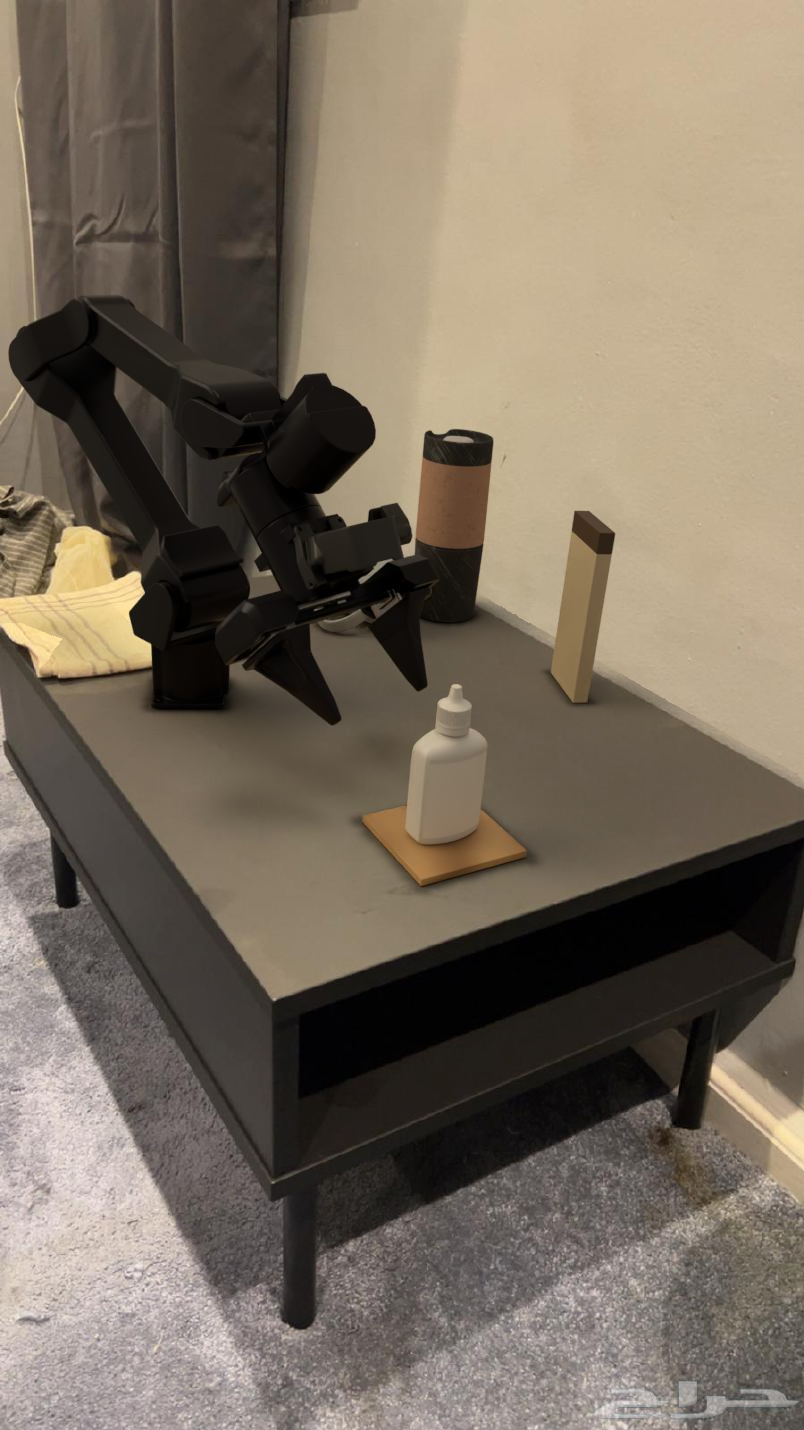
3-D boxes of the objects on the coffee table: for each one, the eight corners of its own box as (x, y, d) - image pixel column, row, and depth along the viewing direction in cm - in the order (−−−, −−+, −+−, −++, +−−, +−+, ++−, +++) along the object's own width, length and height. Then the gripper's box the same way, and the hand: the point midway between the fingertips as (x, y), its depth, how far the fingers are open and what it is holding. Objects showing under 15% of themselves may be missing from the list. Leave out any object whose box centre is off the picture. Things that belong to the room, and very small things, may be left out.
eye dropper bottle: (482, 848, 77) (500, 701, 72) (405, 846, 77) (418, 698, 71) (475, 816, 81) (492, 675, 75) (403, 814, 80) (414, 671, 75)
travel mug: (470, 627, 117) (489, 446, 108) (403, 617, 118) (416, 437, 110) (480, 605, 124) (499, 433, 115) (417, 596, 125) (431, 425, 116)
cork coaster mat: (421, 886, 73) (421, 879, 73) (362, 821, 80) (362, 815, 80) (526, 857, 77) (527, 850, 77) (461, 798, 84) (462, 791, 84)
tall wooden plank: (572, 703, 102) (599, 532, 94) (550, 672, 108) (574, 510, 100) (587, 702, 102) (615, 533, 94) (564, 672, 108) (589, 510, 100)
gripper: (240, 487, 69) (348, 698, 67) (432, 454, 81) (526, 631, 80) (172, 568, 77) (266, 757, 75) (355, 526, 89) (440, 688, 88)
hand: (381, 705), depth 79 cm, fingers open, 9 cm apart
